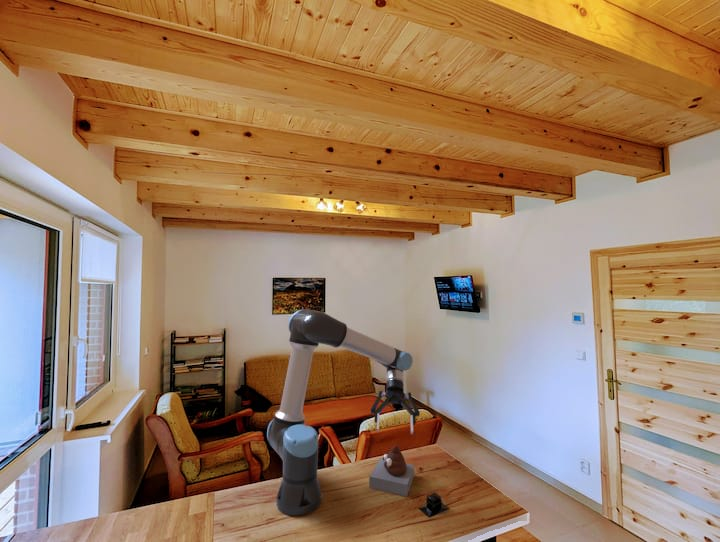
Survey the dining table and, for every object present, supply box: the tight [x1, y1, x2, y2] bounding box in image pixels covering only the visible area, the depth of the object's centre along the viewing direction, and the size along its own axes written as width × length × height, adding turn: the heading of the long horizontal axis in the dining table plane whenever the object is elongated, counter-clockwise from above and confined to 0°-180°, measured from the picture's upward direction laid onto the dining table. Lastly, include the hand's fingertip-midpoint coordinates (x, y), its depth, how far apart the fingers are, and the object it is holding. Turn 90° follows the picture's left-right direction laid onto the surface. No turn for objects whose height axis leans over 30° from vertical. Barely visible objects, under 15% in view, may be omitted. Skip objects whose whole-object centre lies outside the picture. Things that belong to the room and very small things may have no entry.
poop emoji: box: [382, 445, 407, 476], centre depth 127 cm, size 10×8×9 cm
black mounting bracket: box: [417, 492, 451, 519], centre depth 111 cm, size 12×7×5 cm, turn 120°
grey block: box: [368, 457, 415, 497], centre depth 126 cm, size 14×14×4 cm
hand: (394, 431), depth 132 cm, fingers open, 13 cm apart
